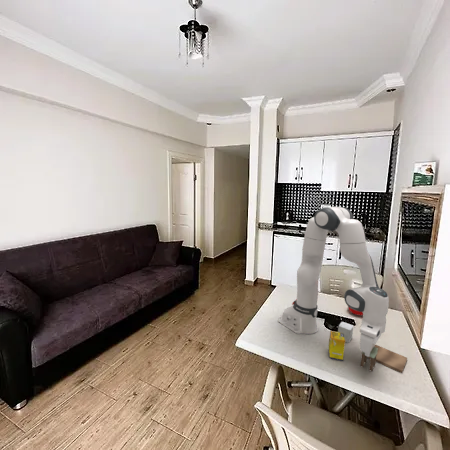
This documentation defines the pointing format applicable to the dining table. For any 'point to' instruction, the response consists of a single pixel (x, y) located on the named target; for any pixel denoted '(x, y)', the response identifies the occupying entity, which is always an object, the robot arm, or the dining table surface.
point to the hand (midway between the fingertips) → (369, 352)
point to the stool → (373, 358)
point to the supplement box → (336, 346)
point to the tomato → (355, 312)
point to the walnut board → (390, 359)
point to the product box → (346, 330)
